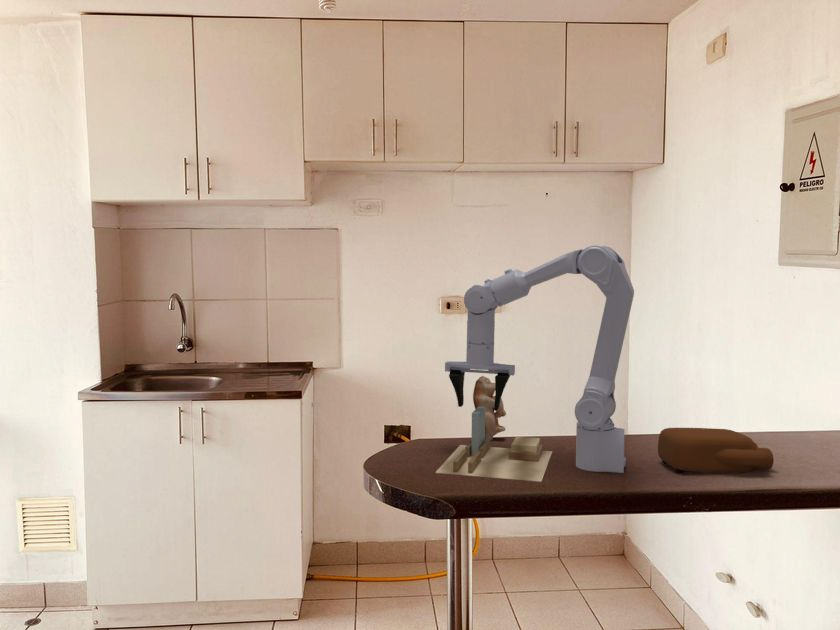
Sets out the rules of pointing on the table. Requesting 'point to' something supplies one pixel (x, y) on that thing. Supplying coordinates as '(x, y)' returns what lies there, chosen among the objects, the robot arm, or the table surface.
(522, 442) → the offcut top
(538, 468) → the rack
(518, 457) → the plate
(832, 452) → the table surface
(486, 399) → the figurine
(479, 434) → the grey blue slab
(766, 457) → the toy
